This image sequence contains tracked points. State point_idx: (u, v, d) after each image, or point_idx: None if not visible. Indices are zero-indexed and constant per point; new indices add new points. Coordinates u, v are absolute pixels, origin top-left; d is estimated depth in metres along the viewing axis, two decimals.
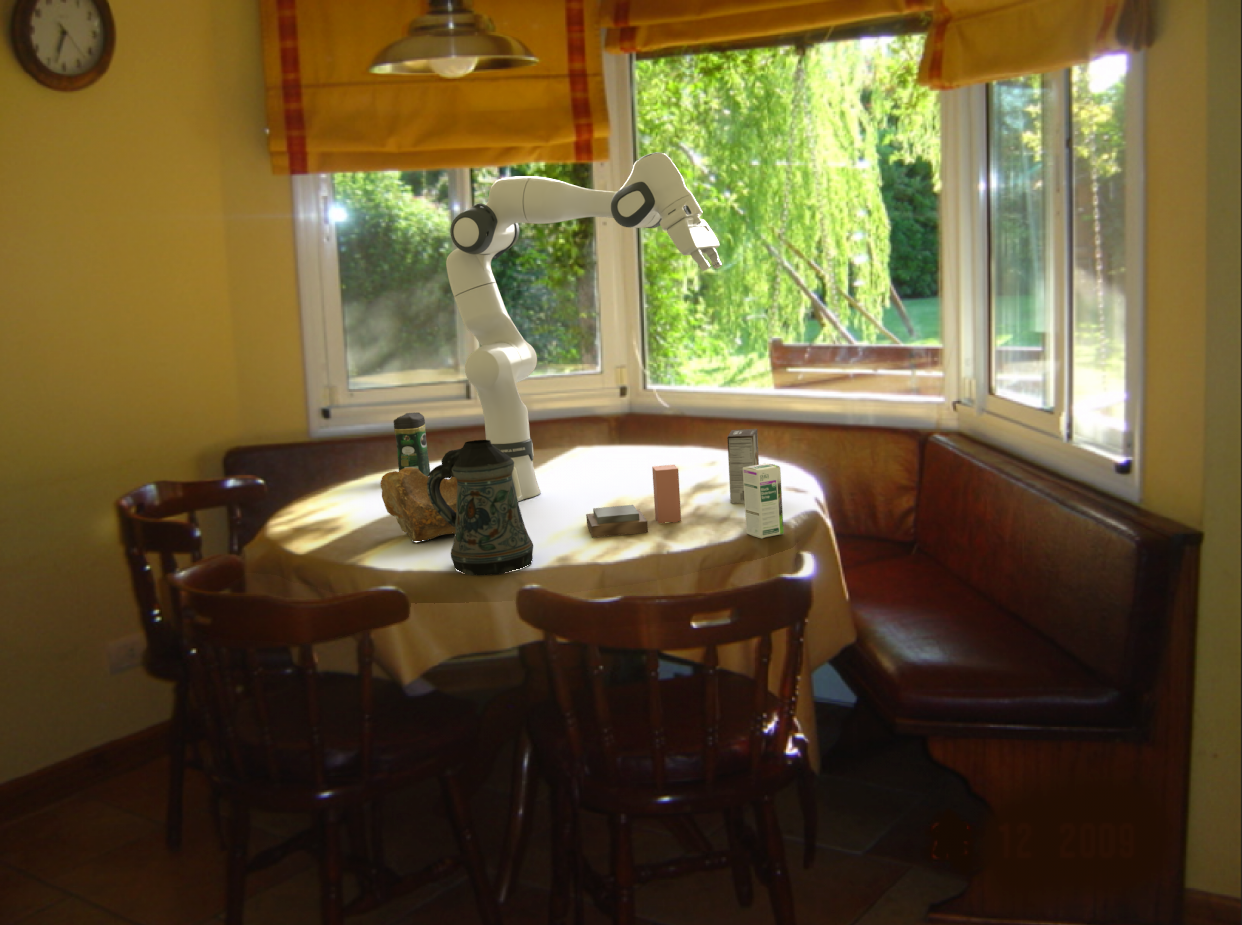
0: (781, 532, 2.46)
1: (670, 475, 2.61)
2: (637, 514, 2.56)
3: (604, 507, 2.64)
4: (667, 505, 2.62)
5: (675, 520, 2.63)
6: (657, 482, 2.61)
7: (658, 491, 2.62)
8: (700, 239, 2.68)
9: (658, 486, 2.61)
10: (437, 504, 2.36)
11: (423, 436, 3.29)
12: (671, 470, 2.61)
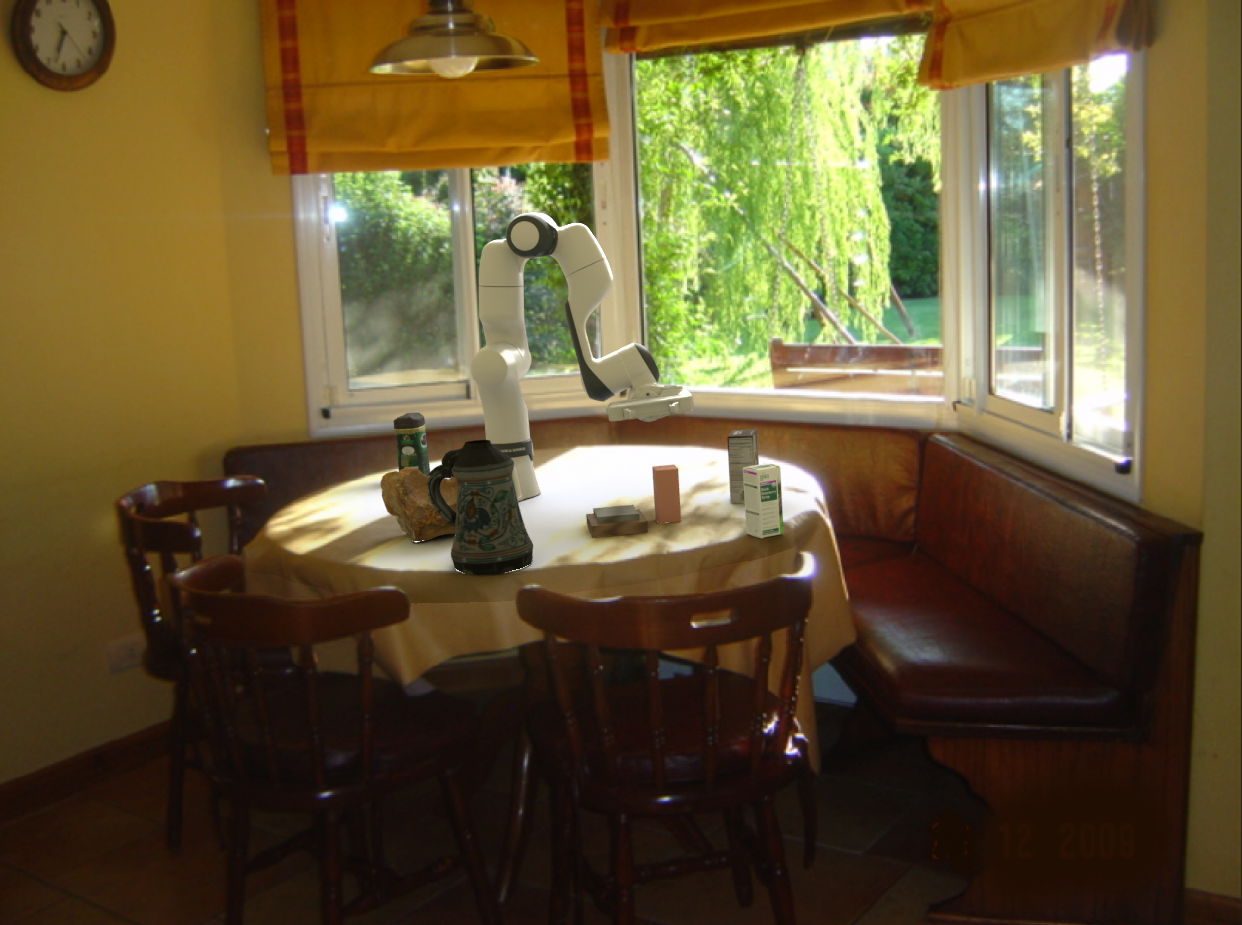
0: (781, 532, 2.46)
1: (670, 475, 2.61)
2: (637, 514, 2.56)
3: (604, 507, 2.64)
4: (667, 505, 2.62)
5: (675, 520, 2.63)
6: (657, 482, 2.61)
7: (658, 491, 2.62)
8: None
9: (658, 486, 2.61)
10: (437, 504, 2.36)
11: (423, 436, 3.29)
12: (671, 470, 2.61)
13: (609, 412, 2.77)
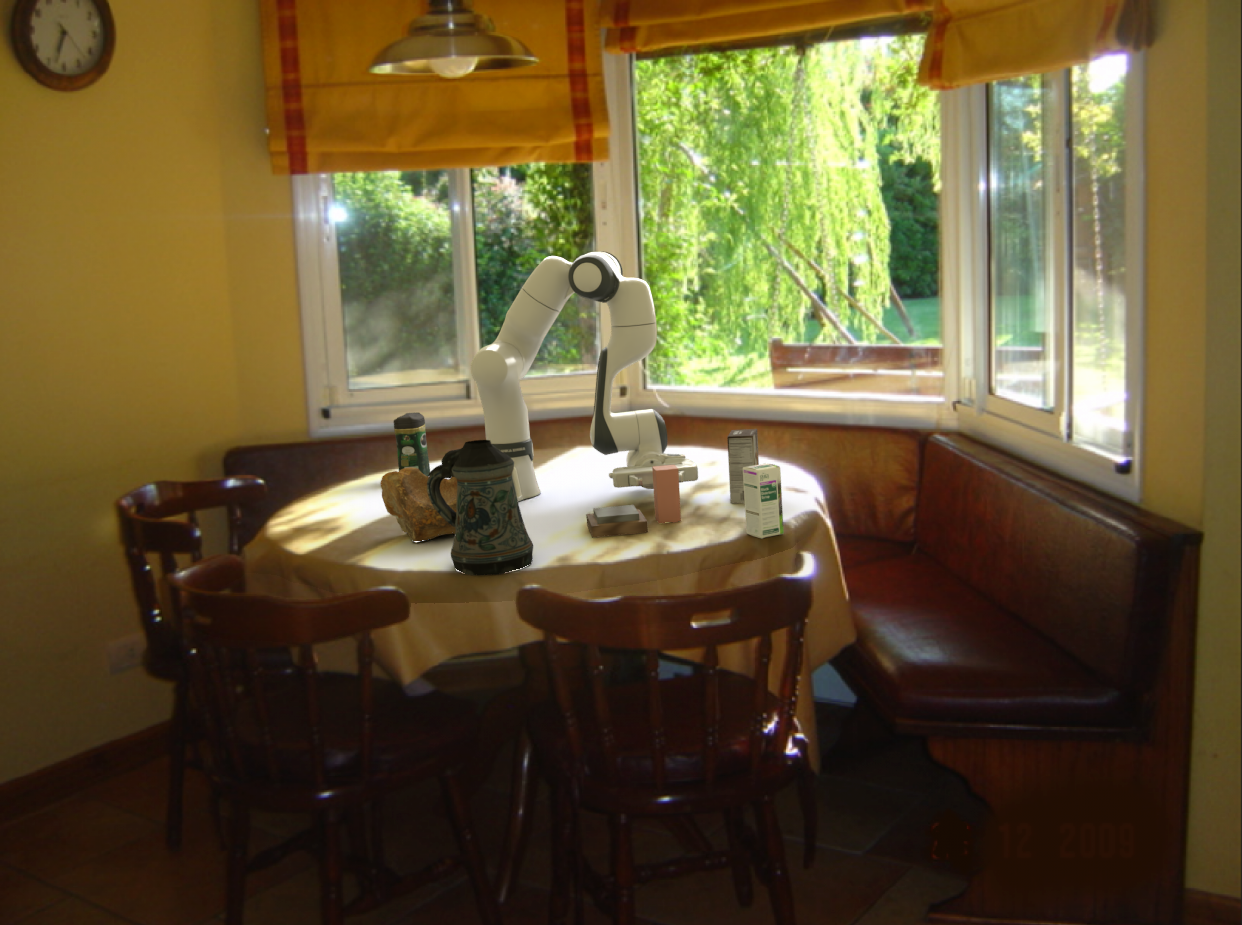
0: (781, 532, 2.46)
1: (670, 475, 2.61)
2: (637, 514, 2.56)
3: (604, 507, 2.64)
4: (667, 505, 2.62)
5: (675, 520, 2.63)
6: (657, 482, 2.61)
7: (658, 491, 2.62)
8: None
9: (658, 486, 2.61)
10: (437, 504, 2.36)
11: (423, 436, 3.29)
12: (671, 470, 2.61)
13: (614, 478, 2.77)
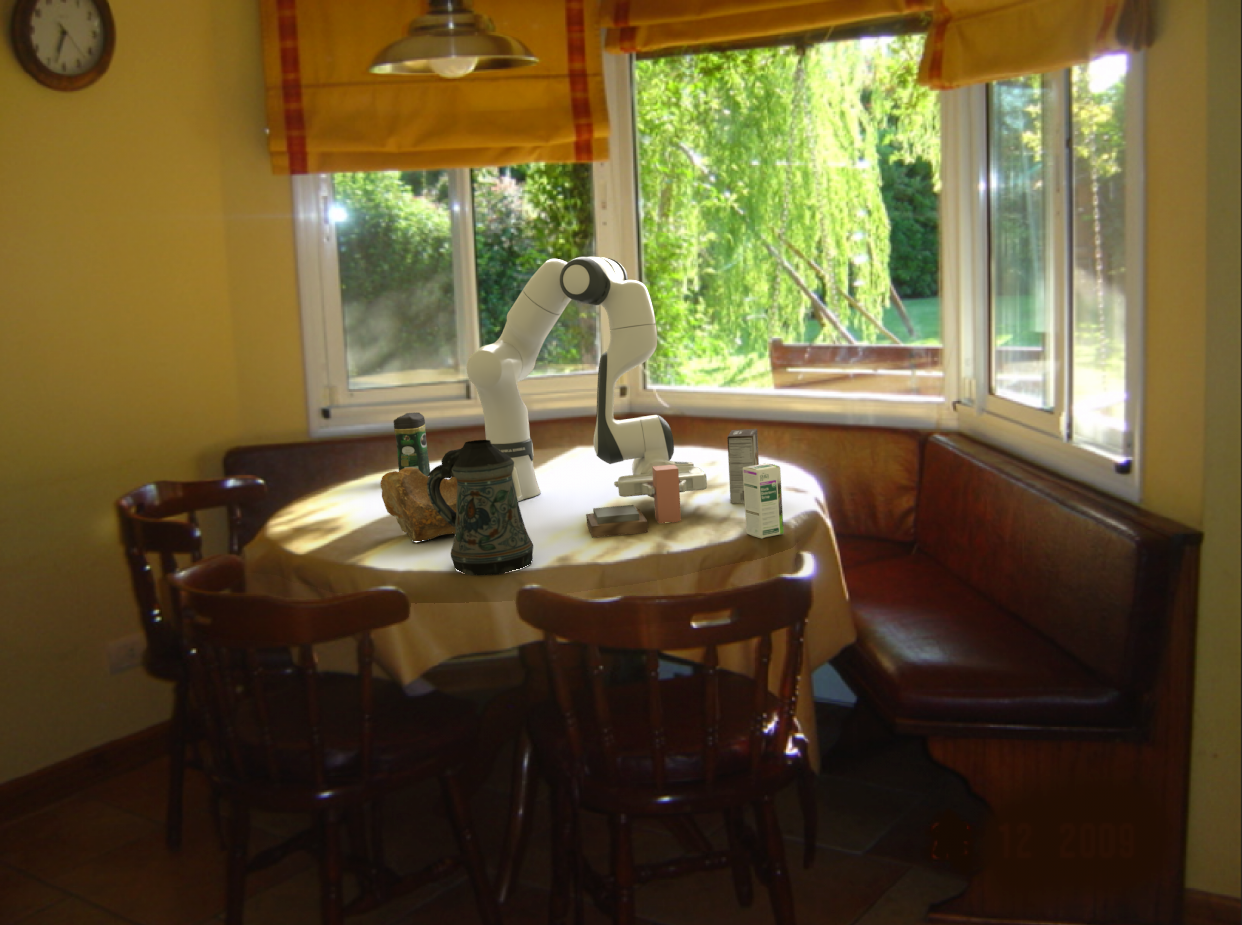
0: (781, 532, 2.46)
1: (670, 474, 2.61)
2: (637, 514, 2.56)
3: (604, 507, 2.64)
4: (667, 505, 2.62)
5: (675, 520, 2.63)
6: (657, 481, 2.61)
7: (658, 491, 2.62)
8: None
9: (658, 486, 2.61)
10: (437, 504, 2.36)
11: (423, 436, 3.29)
12: (671, 470, 2.61)
13: (620, 487, 2.67)
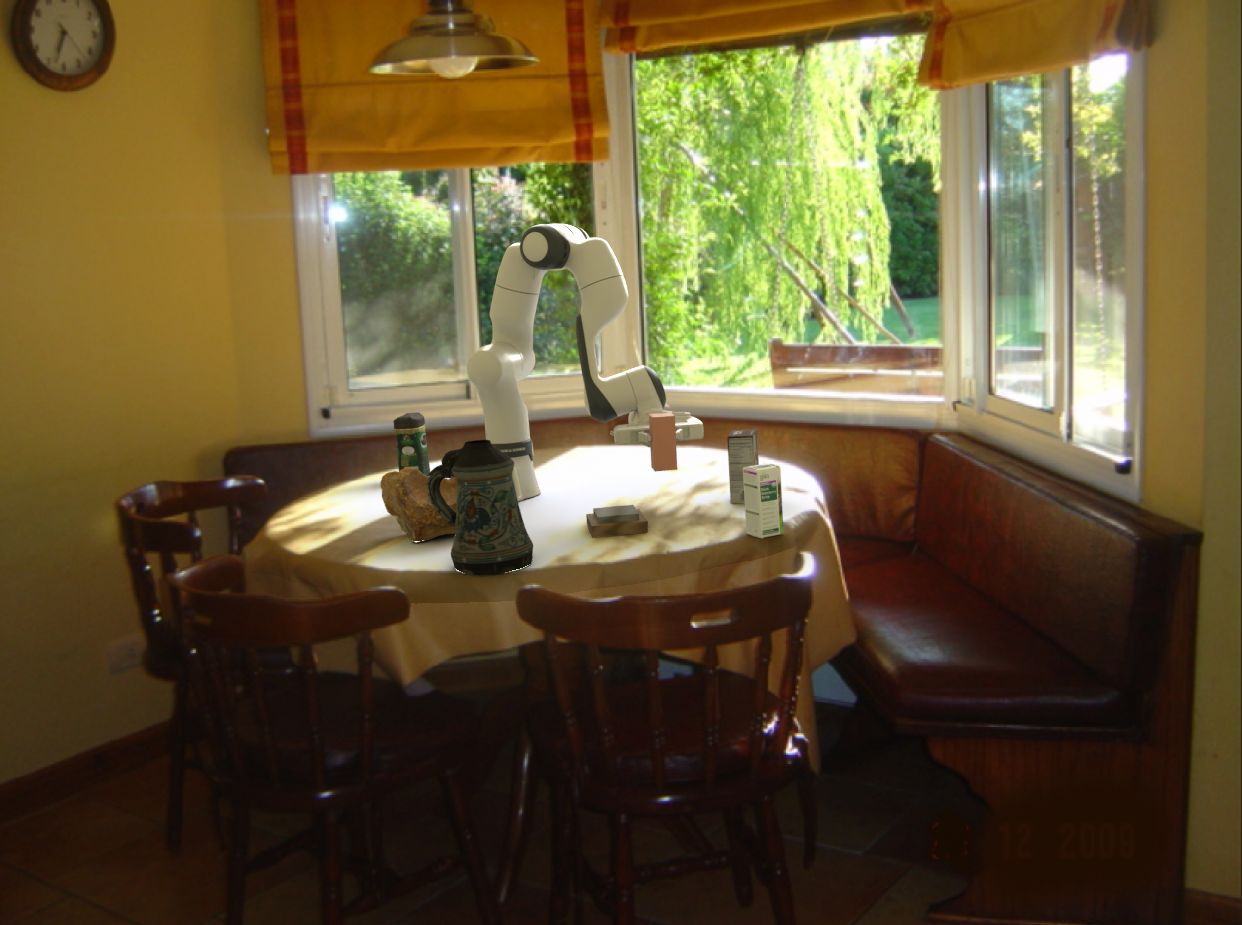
0: (781, 532, 2.46)
1: (666, 422, 2.59)
2: (637, 514, 2.56)
3: (604, 507, 2.64)
4: (663, 452, 2.60)
5: (671, 468, 2.61)
6: (654, 429, 2.59)
7: (654, 438, 2.59)
8: None
9: (654, 433, 2.59)
10: (437, 504, 2.36)
11: (423, 436, 3.29)
12: (668, 417, 2.59)
13: (616, 435, 2.65)
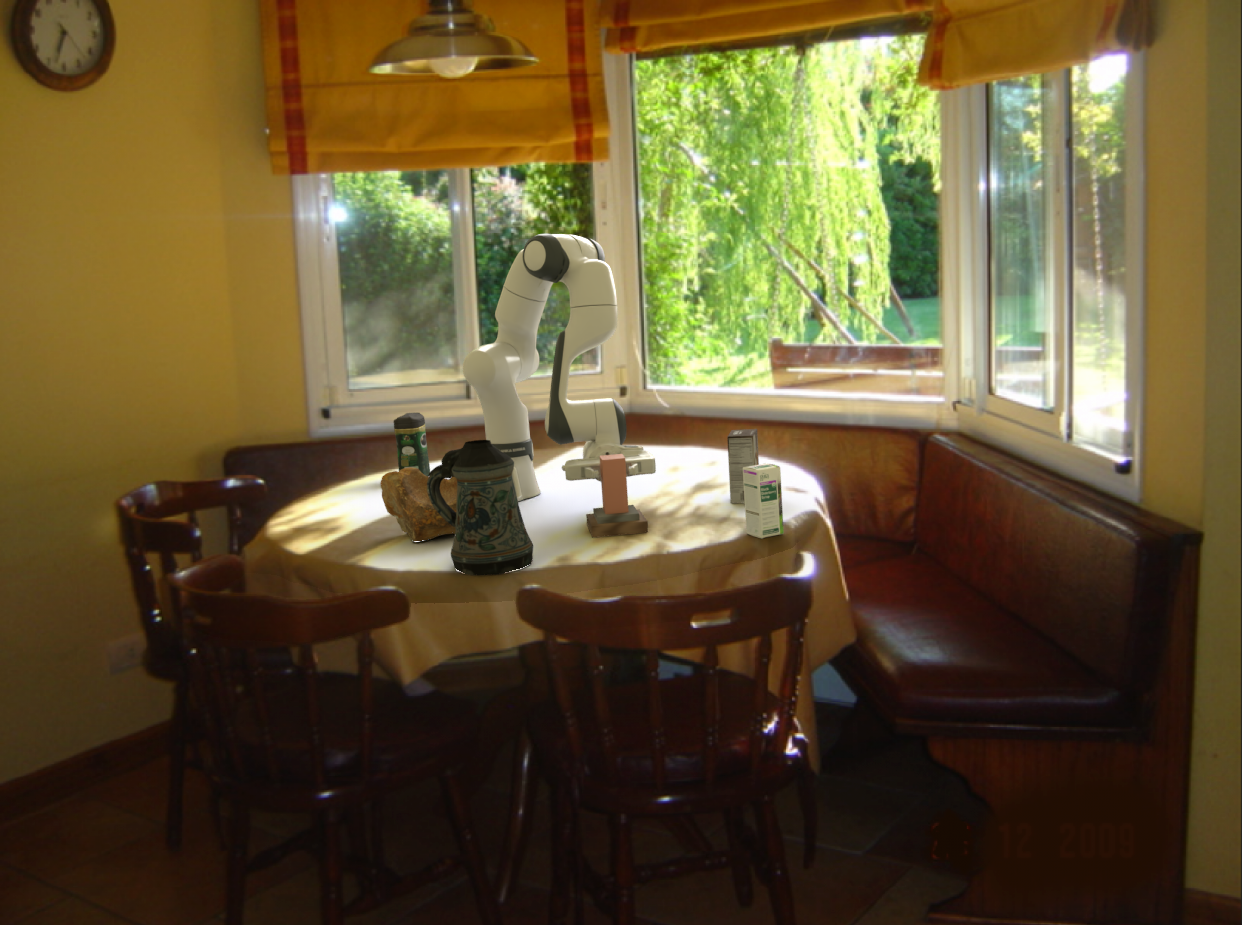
0: (781, 532, 2.46)
1: (616, 464, 2.56)
2: (637, 514, 2.56)
3: None
4: (614, 495, 2.57)
5: (622, 511, 2.58)
6: (604, 471, 2.56)
7: (605, 481, 2.56)
8: None
9: (605, 476, 2.56)
10: (437, 504, 2.36)
11: (423, 436, 3.29)
12: (618, 460, 2.55)
13: (566, 471, 2.61)
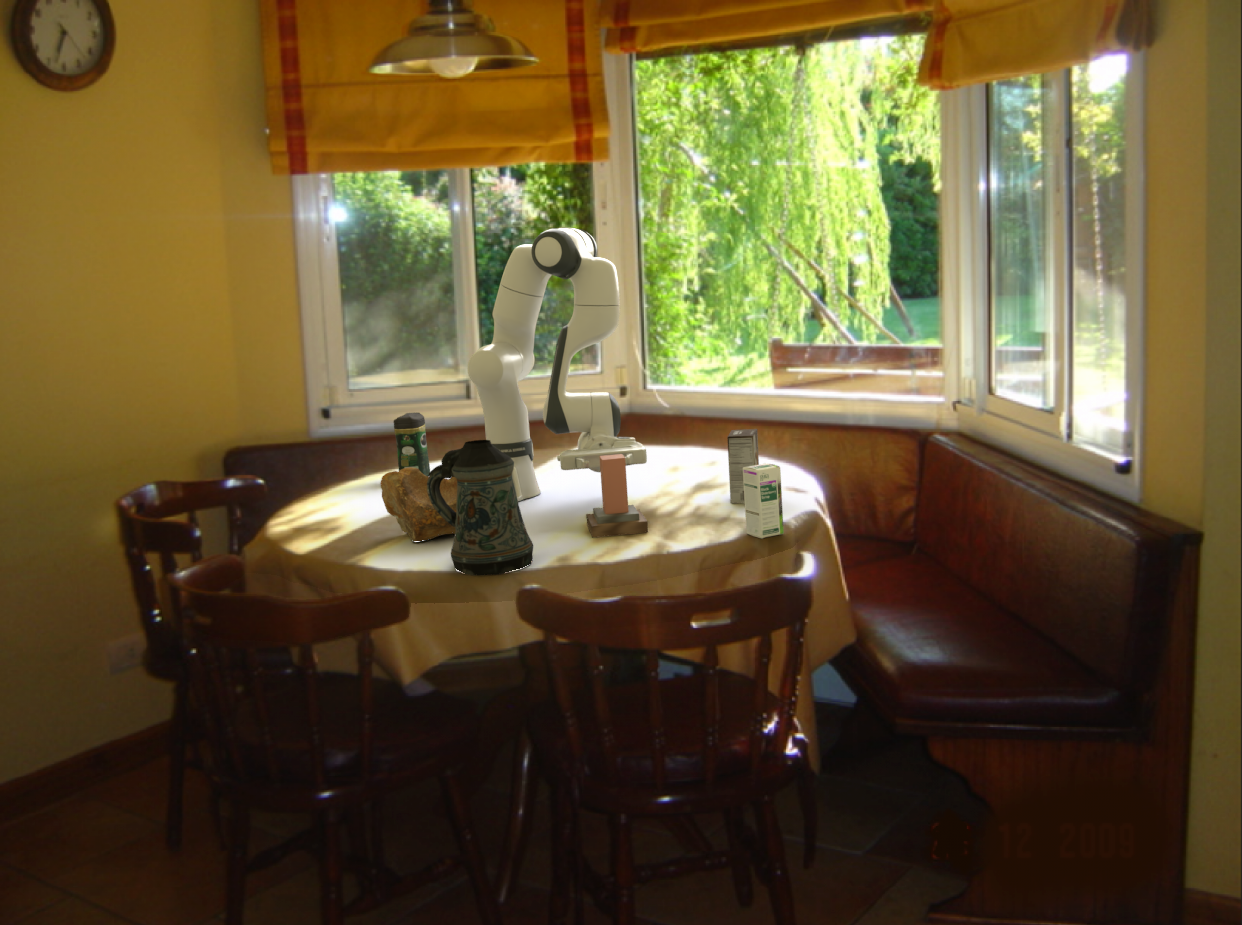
0: (781, 532, 2.46)
1: (616, 464, 2.56)
2: (637, 514, 2.56)
3: None
4: (614, 495, 2.57)
5: (622, 511, 2.58)
6: (604, 471, 2.56)
7: (605, 481, 2.56)
8: None
9: (605, 476, 2.56)
10: (437, 504, 2.36)
11: (423, 436, 3.29)
12: (618, 459, 2.56)
13: (561, 460, 2.74)
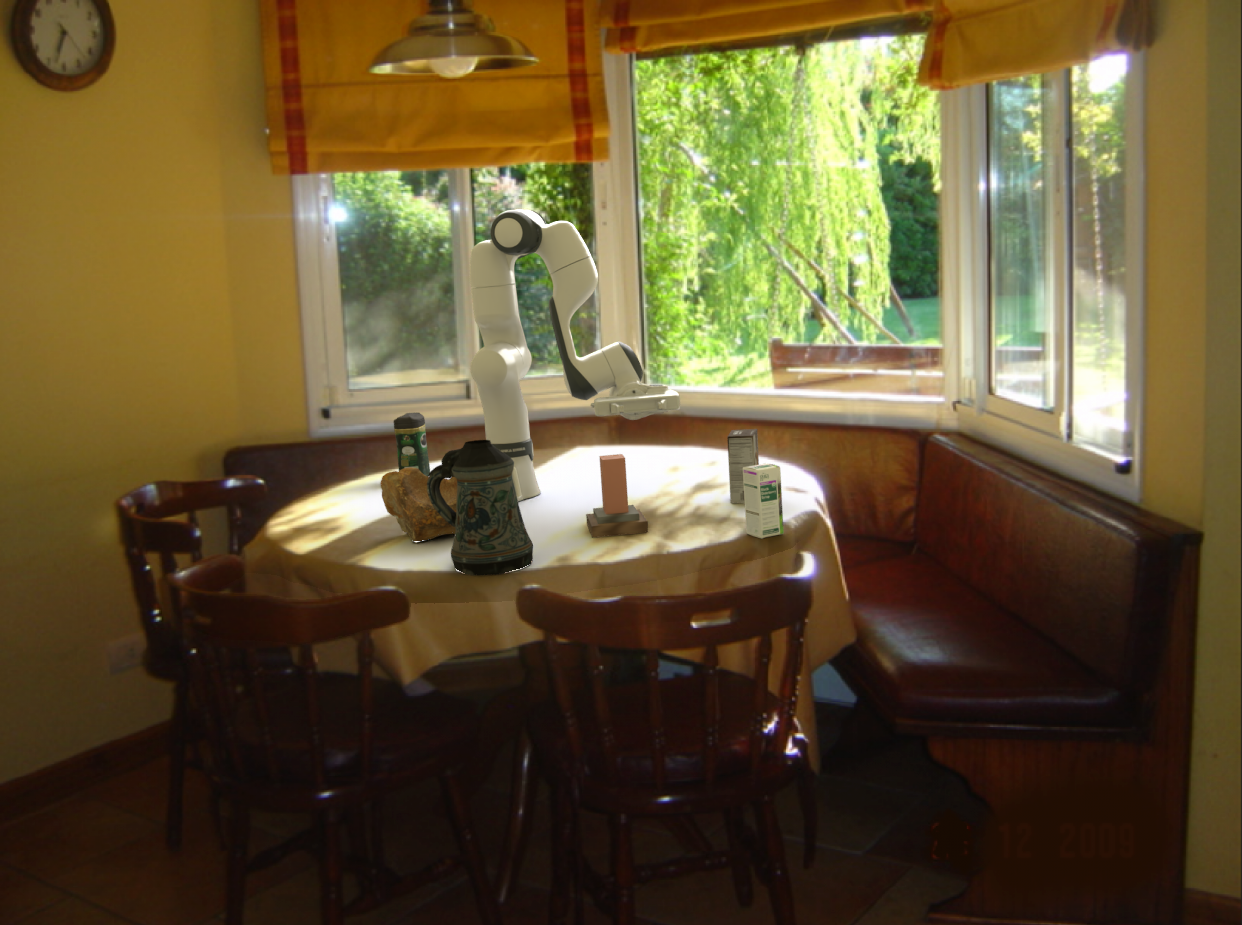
0: (781, 532, 2.46)
1: (616, 464, 2.56)
2: (637, 514, 2.56)
3: None
4: (614, 495, 2.57)
5: (622, 511, 2.58)
6: (604, 471, 2.56)
7: (605, 481, 2.56)
8: None
9: (605, 476, 2.56)
10: (437, 504, 2.36)
11: (423, 436, 3.29)
12: (618, 459, 2.56)
13: (596, 406, 2.75)
